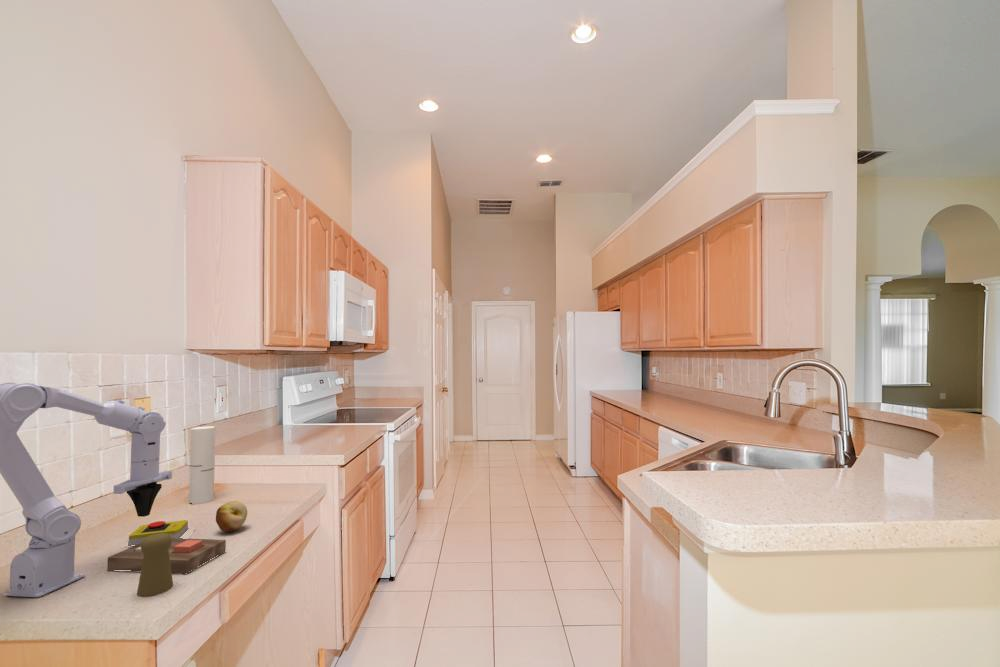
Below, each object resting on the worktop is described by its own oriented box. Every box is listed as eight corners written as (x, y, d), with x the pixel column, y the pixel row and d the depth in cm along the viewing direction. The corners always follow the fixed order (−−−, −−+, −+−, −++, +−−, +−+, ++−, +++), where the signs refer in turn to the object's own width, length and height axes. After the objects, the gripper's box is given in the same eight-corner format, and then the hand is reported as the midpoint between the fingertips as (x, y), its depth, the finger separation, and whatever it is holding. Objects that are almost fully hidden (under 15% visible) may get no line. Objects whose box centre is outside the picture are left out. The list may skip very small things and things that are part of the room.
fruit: (212, 538, 124) (213, 507, 125) (218, 528, 132) (219, 499, 132) (244, 533, 127) (245, 504, 128) (248, 524, 135) (249, 496, 135)
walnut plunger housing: (187, 574, 103) (187, 560, 103) (107, 570, 105) (107, 557, 105) (225, 552, 115) (225, 539, 115) (153, 549, 117) (153, 537, 117)
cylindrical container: (193, 499, 161) (194, 427, 163) (216, 497, 164) (217, 425, 165) (186, 505, 155) (187, 429, 156) (210, 502, 157) (211, 428, 158)
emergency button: (135, 521, 128) (198, 514, 133) (134, 537, 127) (197, 529, 132) (120, 532, 119) (188, 524, 124) (119, 550, 119) (187, 541, 124)
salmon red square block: (189, 561, 107) (189, 547, 107) (173, 561, 108) (173, 546, 108) (202, 554, 111) (202, 540, 111) (187, 553, 111) (187, 539, 112)
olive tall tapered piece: (179, 582, 99) (181, 529, 100) (160, 596, 93) (161, 540, 94) (150, 583, 99) (152, 530, 99) (129, 597, 93) (130, 541, 93)
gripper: (133, 466, 108) (131, 526, 107) (183, 454, 122) (181, 506, 121) (106, 466, 109) (104, 525, 108) (159, 454, 123) (157, 506, 122)
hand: (143, 515), depth 115 cm, fingers closed
